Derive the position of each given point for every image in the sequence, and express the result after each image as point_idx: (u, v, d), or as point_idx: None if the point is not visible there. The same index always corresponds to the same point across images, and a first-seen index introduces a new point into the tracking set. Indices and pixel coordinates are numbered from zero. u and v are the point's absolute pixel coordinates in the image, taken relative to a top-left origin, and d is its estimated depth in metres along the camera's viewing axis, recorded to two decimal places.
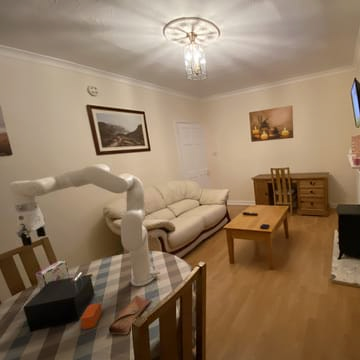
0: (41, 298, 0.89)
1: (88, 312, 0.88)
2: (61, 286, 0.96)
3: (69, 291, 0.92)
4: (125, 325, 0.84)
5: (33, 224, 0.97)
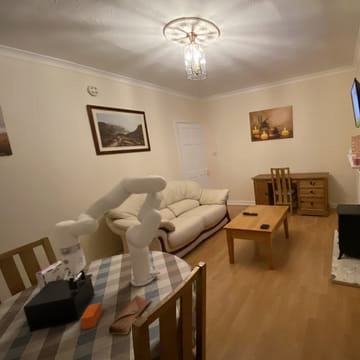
0: (41, 298, 0.89)
1: (88, 312, 0.88)
2: (61, 286, 0.96)
3: (69, 291, 0.92)
4: (125, 325, 0.84)
5: (77, 267, 0.92)
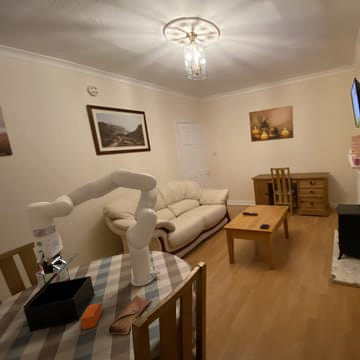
0: None
1: (88, 312, 0.88)
2: None
3: None
4: (125, 325, 0.84)
5: (52, 250, 0.88)
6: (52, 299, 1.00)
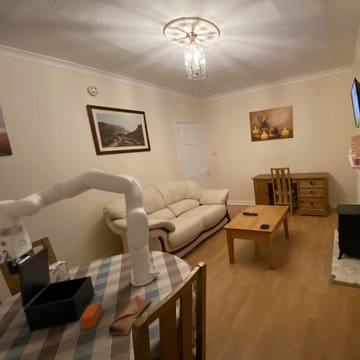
0: None
1: (88, 312, 0.88)
2: None
3: None
4: (125, 325, 0.84)
5: (18, 250, 0.85)
6: (52, 299, 1.00)
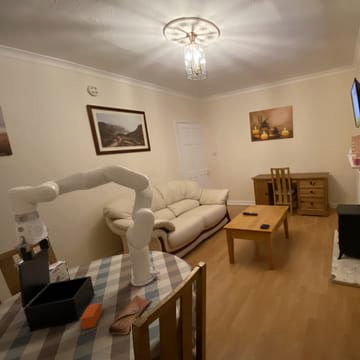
0: None
1: (88, 312, 0.88)
2: None
3: None
4: (125, 325, 0.84)
5: (34, 236, 0.85)
6: (52, 299, 1.00)
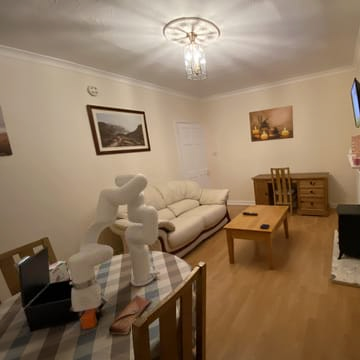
0: None
1: (88, 312, 0.88)
2: None
3: None
4: (125, 325, 0.84)
5: (77, 305, 0.85)
6: (52, 299, 1.00)
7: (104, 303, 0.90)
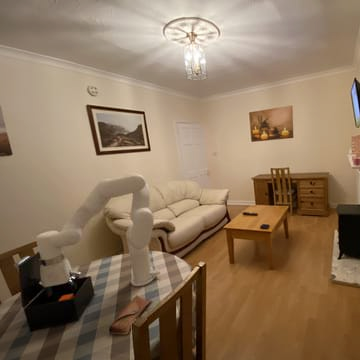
0: None
1: None
2: None
3: None
4: (125, 325, 0.84)
5: (45, 280, 0.90)
6: (52, 299, 1.00)
7: (77, 276, 0.95)
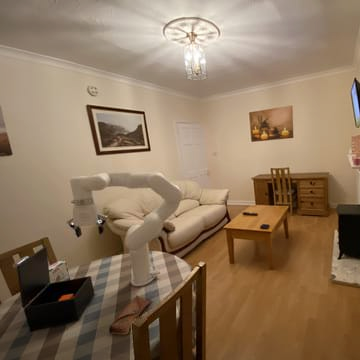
0: None
1: None
2: None
3: None
4: (125, 325, 0.84)
5: (77, 220, 0.99)
6: (52, 299, 1.00)
7: (104, 219, 1.04)
